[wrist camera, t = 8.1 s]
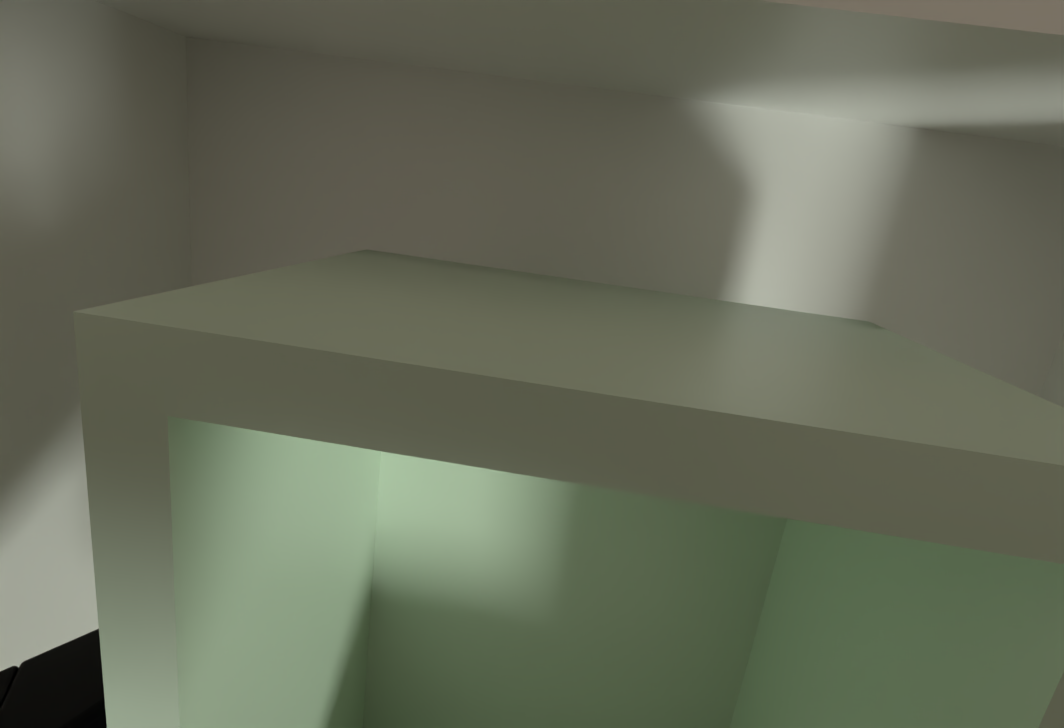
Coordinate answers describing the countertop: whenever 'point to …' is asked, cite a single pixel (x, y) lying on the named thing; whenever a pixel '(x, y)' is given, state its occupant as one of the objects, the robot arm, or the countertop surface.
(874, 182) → the white open box
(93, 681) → the robot arm
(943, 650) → the sage crate
